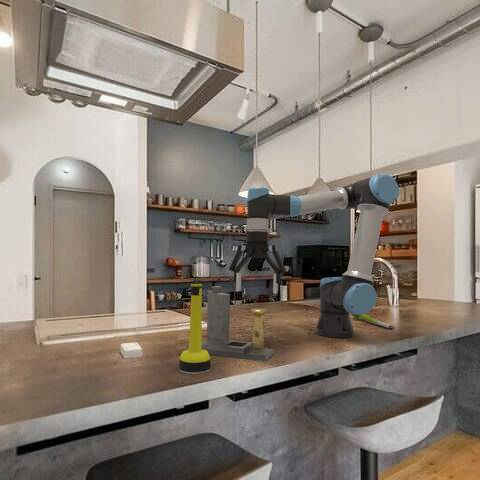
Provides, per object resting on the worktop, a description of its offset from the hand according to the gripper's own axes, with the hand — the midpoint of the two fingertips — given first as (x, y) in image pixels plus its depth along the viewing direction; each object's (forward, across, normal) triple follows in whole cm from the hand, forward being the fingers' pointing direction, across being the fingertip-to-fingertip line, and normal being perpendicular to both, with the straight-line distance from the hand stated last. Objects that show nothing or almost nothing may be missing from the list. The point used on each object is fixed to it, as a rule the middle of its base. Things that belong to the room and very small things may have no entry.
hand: (256, 292), depth 125 cm
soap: (+20, +33, +25) cm, 46 cm away
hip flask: (+19, +17, -4) cm, 26 cm away
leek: (+19, -36, -66) cm, 78 cm away
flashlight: (+19, +8, +30) cm, 36 cm away
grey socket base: (+19, +3, +11) cm, 22 cm away
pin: (+19, -1, +1) cm, 19 cm away
